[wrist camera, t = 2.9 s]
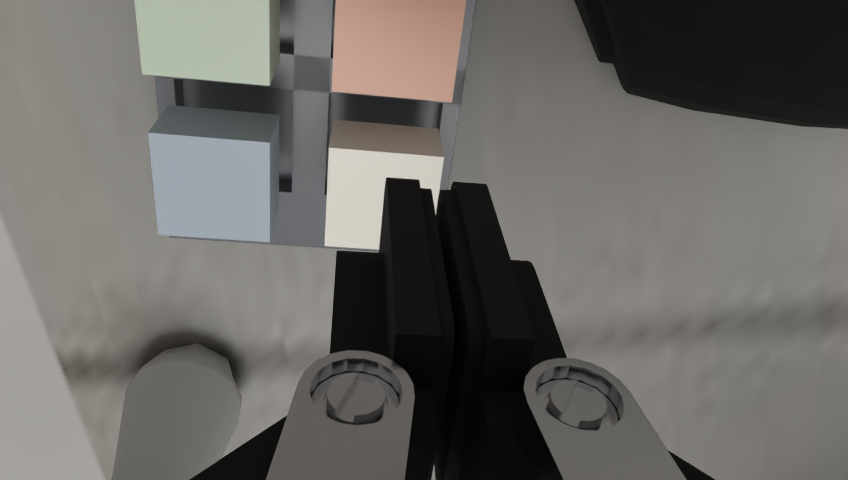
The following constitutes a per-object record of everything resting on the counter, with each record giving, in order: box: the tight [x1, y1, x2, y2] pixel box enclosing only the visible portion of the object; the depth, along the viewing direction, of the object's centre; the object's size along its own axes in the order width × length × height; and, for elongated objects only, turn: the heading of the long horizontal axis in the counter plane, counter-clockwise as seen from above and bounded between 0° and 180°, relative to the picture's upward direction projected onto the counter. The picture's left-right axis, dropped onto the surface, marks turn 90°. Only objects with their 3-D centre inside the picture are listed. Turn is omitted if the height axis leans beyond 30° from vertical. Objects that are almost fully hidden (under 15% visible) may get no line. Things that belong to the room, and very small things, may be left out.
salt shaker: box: [112, 343, 242, 480], centre depth 32 cm, size 6×6×13 cm
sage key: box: [135, 0, 280, 86], centre depth 22 cm, size 4×4×4 cm
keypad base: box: [155, 0, 476, 251], centre depth 28 cm, size 12×16×2 cm
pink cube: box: [332, 0, 466, 103], centre depth 23 cm, size 4×4×4 cm
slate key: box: [148, 105, 279, 242], centre depth 26 cm, size 4×4×4 cm
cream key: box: [324, 119, 444, 250], centre depth 26 cm, size 4×4×4 cm
